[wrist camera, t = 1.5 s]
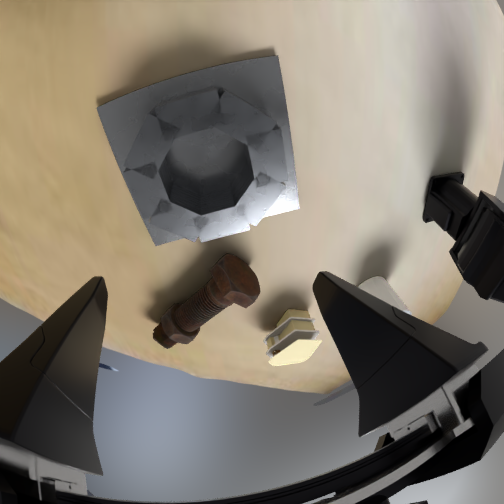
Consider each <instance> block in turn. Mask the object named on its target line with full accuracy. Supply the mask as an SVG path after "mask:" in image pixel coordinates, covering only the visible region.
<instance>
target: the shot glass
mask: <svg viewBox="0 0 504 504" xmlns="http://www.w3.org/2000/svg"><path fill="white" fill-rule="evenodd" d="M358 288H360V289H362V290H364V291H366V292H368V293H369V294H371V295H373V296H375V297H377V298H379V299H381V300H383V301H384V302H386V303H388V304H390V305H391V306H394V307H396V308H398V309H400V310H402V311H404V312H406V313H408V314H410V315H411V312H410V310H409V309H408V308H407V306H406V305H405V304H404V302H403V301H402V300H401V299H400V297H399V296H398V295H397V293H396V292H395V291H394V290H393V288H392V287H391V286H390V285H389V283H388V282H387V281H386V280H385V279H384V278H383V277H380V276H376V277H372V278H369V279H368V280H366V281H364V282H363V283H361V284H360V285H359V286H358Z"/></svg>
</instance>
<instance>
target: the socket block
mask: <svg viewBox="0 0 504 504" xmlns="http://www.w3.org/2000/svg"><path fill="white" fill-rule="evenodd" d="M97 111H98V114H99V117H100V119H101V122H102V125H103V128H104V130H105V133H106V136H107V138H108V141H109V143H110V146H111V148H112V151H113V153H114V156H115V158H116V161H117V163H118V166H119V168H120V170H121V173H122V175H123V177H124V180H125V182H126V184H127V187H128V189H129V191H130V193H131V196H132V198H133V200H134V202H135V204H136V206H137V209H138V211H139V213H140V215H141V217H142V219H143V221H144V223H145V225H146V227H147V230H148V232H149V234H150V236H151V238H152V240H153V242H154V244H155V246H158V245H161V244H165V243H168V242H172V241H175V240H179V239H183V238H186V239H188V240H191V241H193V242H195V241H196V240H197V238H198V237H199V238H200V240H201V243H202V242H205V241H209V240H213V239H217V238H221V237H224V236H228V235H232V234H236V233H240V232H244V231H248V230H250V226H249V223H250V224H252V225H254V226H257V224H258V223H259V222H260V220H261V219H262V218H263V217H267V216H271V215H275V214H279V213H283V212H287V211H292V210H296V209H299V199H298V190H297V180H296V172H295V163H294V155H293V147H292V140H291V132H290V125H289V118H288V112H287V105H286V99H285V93H284V87H283V81H282V75H281V69H280V64H279V58H278V56H269V57H262V58H255V59H249V60H243V61H238V62H233V63H228V64H223V65H218V66H214V67H210V68H206V69H202V70H198V71H194V72H191V73H187V74H184V75H180V76H177V77H174V78H170V79H167V80H164V81H161V82H158V83H155V84H152V85H150V86H147V87H144V88H142V89H139V90H136V91H134V92H131V93H129V94H126V95H124V96H122V97H119V98H117V99H115V100H112V101H110V102H108V103H106V104H103V105H101V106H99V107H97Z"/></svg>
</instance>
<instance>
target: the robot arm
mask: <svg viewBox="0 0 504 504" xmlns="http://www.w3.org/2000/svg"><path fill="white" fill-rule="evenodd" d="M463 180H464V173H462V172H457V173H451V174H445V175H439V176H433V177H432V178H431V180H430V185H429V191H428V196H427V201H426V206H425V211H424V216H423V221H424V222H425V223H427V222H431V221H435V222H436V223H437V224H438V225H439V226H440V227H441V228H442V229H443V230H444V231H446V232H447V233H448V234H449V235H450V236H451V237H452V238H453V239H454V240H455V241H456V242H455V244H454V245H453V247H452V248H451V249H450V251H449V253H450V255H451V256H452V259H453V260H454V262H455V264H456V266H457V268H458V269H459V271H460V273H461V275H462V277H463V279H464V280H465V281H466V282H467V283H468V284H470V285H472V286H473V287H474V288H475V290H476V291H477V293H478V294H479V296H480V297H481V298H483V299H485V300H488V299H489V298H490V299H493V300H496V301H499V302H502V303H504V203H502V202H501V201H500V200H499V199H498V198H496V197H495V196H493V195H491V194H488V193H486V192H484V191H482V190H481V191H480V193H479V197H477V196H476V195H475V194H474V193H472V192H471V191H470V190H469V189H467V188H466V187H465V186H464V185H463ZM313 292H314V295H315V298H316V300H317V303H318V306H319V309H320V312H321V314H322V317H323V319H324V321H325V323H326V325H327V327H328V329H329V331H330V334H331V336H332V338H333V340H334V342H335V344H336V346H337V348H338V350H339V353H340V355H341V357H342V359H343V361H344V363H345V365H346V368H347V370H348V372H349V374H350V376H351V379H352V381H353V383H354V385H355V388H356V389H357V392H358V395H359V432H358V434H359V437H362V436H365V435H367V434H369V433H371V432H373V431H376V430H378V429H380V428H382V427H384V426H386V425H387V428H388V430H389V433H387V434H385V435H383V436H381V437H379V440H378V443H377V445H376V448H375V451H374V452H373V453H371V454H369V455H366V456H364V457H362V458H360V459H358V460H356V461H353V462H351V463H349V464H346V465H344V466H341V467H339V468H336V469H334V470H331V471H329V472H326V473H323V474H320V475H317V476H314V477H311V478H308V479H305V480H302V481H299V482H295V483H292V484H288V485H284V486H281V487H277V488H273V489H268V490H264V491H260V492H255V493H250V494H244V495H238V496H232V497H226V498H217V499H209V500H197V501H179V502H146V501H128V500H117V499H109V498H101V497H95V496H94V495H93V494H91V493H90V492H89V491H88V490H87V487H86V479H85V473H87V474H93V475H101V476H103V471H102V468H101V464H100V460H99V456H98V452H97V448H96V444H95V439H94V434H93V414H94V402H95V392H96V383H97V375H98V368H99V361H100V354H101V348H102V343H103V337H104V331H105V324H106V311H107V300H108V292H107V288H106V284H105V280H104V278H103V277H102V276H95V277H93V278H92V279H90V280H89V281H88V282H87V283H86V284H85V285H84V286H82V287H81V288H80V289H79V290H78V291H77V292H76V293H75V294H73V295H72V296H71V297H70V298H69V299H68V300H67V301H66V302H65V303H64V304H63V305H61V306H60V307H59V308H58V309H57V310H56V311H55V312H54V313H53V314H52V315H51V316H50V317H49V318H48V319H47V320H46V321H45V322H44V323H43V324H42V325H41V326H39V327H38V328H37V329H36V330H35V331H34V332H33V333H32V334H31V335H30V336H29V337H28V338H27V339H26V340H25V341H24V342H22V343H21V345H19V346H18V347H17V348H16V349H15V350H13V351H12V352H11V353H10V354H9V355H8V356H7V357H6V358H4V359H3V360H2V361H1V362H0V504H302V503H305V502H308V501H311V500H314V499H317V498H320V497H322V496H325V495H327V494H330V493H333V492H336V495H334V497H332V498H327V499H323V500H320V501H318V502H316V503H313V504H390V502H389V500H388V498H389V497H391V496H393V495H394V494H396V493H397V492H399V491H401V490H402V489H404V488H405V487H407V486H409V485H413V484H417V483H420V482H424V481H427V480H430V479H433V478H437V477H439V476H442V475H445V474H448V473H451V472H453V471H456V470H458V469H461V468H464V467H466V466H468V465H471V464H473V463H475V462H477V461H480V460H481V459H482V458H483V456H484V455H485V454H486V453H487V452H488V451H489V449H490V448H491V447H492V446H493V445H494V443H495V442H496V441H497V440H498V438H499V437H500V436H501V434H502V433H503V432H504V349H503V350H502V351H501V352H500V353H499V354H498V355H497V356H496V357H495V358H493V359H492V360H491V361H490V362H489V363H488V364H487V365H485V367H483V368H482V369H481V370H480V371H479V370H478V368H477V366H476V364H475V363H476V362H477V361H478V360H479V359H480V358H481V357H482V356H483V355H484V354H485V353H486V352H487V351H488V348H487V347H486V346H485V345H484V344H483V343H482V342H478V343H477V344H471V343H468V342H467V341H464V340H462V339H460V338H458V337H456V336H454V335H452V334H450V333H448V332H445V331H443V330H441V329H439V328H437V327H435V326H433V325H431V324H428V323H426V322H424V321H422V320H420V319H418V318H416V317H414V316H412V315H410V314H408V313H406V312H404V311H402V310H400V309H398V308H396V307H394V306H391V305H390V304H388V303H386V302H384V301H383V300H381V299H379V298H377V297H375V296H373V295H371V294H369V293H368V292H366V291H364V290H362V289H360V288H358V287H356V286H354V285H352V284H351V283H349V282H347V281H345V280H343V279H341V278H339V277H337V276H335V275H333V274H331V273H330V272H327V271H322V272H319V273H318V274H317V277H316V279H315V281H314V283H313ZM411 504H428V502H427V501H421V502H416V503H411Z"/></svg>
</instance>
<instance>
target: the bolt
mask: <svg viewBox="0 0 504 504" xmlns="http://www.w3.org/2000/svg"><path fill="white" fill-rule="evenodd" d="M210 272H211V274H212V276H213V278H212V279H211V280H210V281H209V283H207V284H206V285H205V286H204V287H203V288H201V289H200V290H199V291H198V292H197V293H195V294H194V295H193V296H192V297H191V298H190V299H188V300H187V301H186V302H185V303H184V304H182V305H181V304H174V305H173V306H172V307H171V308H169V309H168V311H167V312H166V313H165V314H164V315H163V316H162V317H161V323H160V324H159V325H158V326H157V327H156V328H155V329H154V330H153V331H154V333H153V339H154V340H155V341H156V342H158V343H159V344H160V345H162V346H163V347H164V348H167V349H168V348H171V347H172V346H173V345H175V344H176V343H182V344H188V343H190V342H191V341H192V340H193V339H194V338H195V337H196V336H197V334H198V333H199V331H200V326H202V325H203V324H204V323H206V322H207V321H209V320H210V319H211V318H212V317H214V316H215V315H217V314H218V313H219V312H221V311H222V310H224V309H225V308H226V307H228V306H230V305H232V304H233V303H236V304H238V305H240V306H242V307H244V308H247V307H248V306H250V305H251V304H253V303H254V302H255V300H256V299H257V298H258V296H259V294H260V285H259V282H258V278H257V276H256V275H255V273H254V272H253V271H252V269H251V268H250V267H249V266H248V265H247V264H246V263H245V262H244V261H243V260H241V259H240V258H238V257H237V256H234V255H231V254H225V255H224V256H223V257H222V258H221V259H220V260H219V261H218V262H217V263H216V264H215V265H214V266H213V267H212V269H211V270H210Z"/></svg>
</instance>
